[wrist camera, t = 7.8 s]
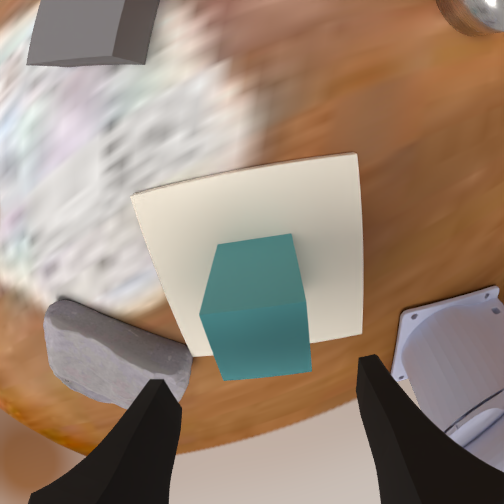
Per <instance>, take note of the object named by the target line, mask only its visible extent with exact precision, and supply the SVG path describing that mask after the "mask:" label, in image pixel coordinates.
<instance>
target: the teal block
mask: <svg viewBox="0 0 504 504" xmlns="http://www.w3.org/2000/svg"><path fill="white" fill-rule="evenodd" d="M199 317H200V319H201V322H202V325H203V328H204V330H205V333H206V336H207V339H208V341H209V344H210V347H211V349H212V352H213V355H214V357H215V360H216V362H217V365H218V368H219V370H220V373H221V375H222V378H223V380H224V381H227V380H241V379H252V378H263V377H272V376H281V375H289V374H297V373H304V372H311V371H312V365H311V351H310V338H309V326H308V314H307V303H306V298H305V293H304V288H303V283H302V279H301V274H300V269H299V265H298V260H297V256H296V251H295V247H294V243H293V238H292V234H291V233H290V234H283V235H276V236H270V237H263V238H256V239H250V240H243V241H237V242H230V243H224V244H218V245H217V248H216V252H215V256H214V259H213V263H212V267H211V271H210V274H209V278H208V282H207V286H206V289H205V293H204V297H203V301H202V305H201V309H200V313H199Z"/></svg>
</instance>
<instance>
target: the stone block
mask: <svg viewBox="0 0 504 504" xmlns="http://www.w3.org/2000/svg"><path fill="white" fill-rule="evenodd" d="M43 326H44V331H45V340H46V346H47V353H48V360H49V365H50V367H51V369H52V370H53V372H54V374H55V376H56V377H58V378H59V379H60V380H61V381H62V383H64V384H65V385H66V386H68V387H69V388H70V389H72V390H74V391H77V392H80V393H82V394H84V395H86V396H87V397H89V398H91V399H94V400H96V401H99V402H104V403H114V404H116V405H118V406H120V407H122V408H125V409H127V410H128V408H129V407H130V405H131V404H132V403H133V401H134V400H135V399H136V397H137V396H138V395H139V393H140V392H141V390H142V389H143V388H144V386H145V385H146V384H147V382H148V381H149V380H150V379H164V380H165V382H166V384H167V385H168V387H169V389H170V390H171V392H172V393H173V395H174V397H175V398H176V400H177V401H178V402H179V401H180V399H181V398H182V396H183V394H184V392H185V390H186V388H187V386H188V384H189V378H190V374H191V365H192V360H193V357H192V355H191V353H190V350H189V348H188V347H187V346H186V345H183V344H181V343H179V342H175V341H172V340H170V339H167V338H164V337H161V336H158V335H155V334H153V333H150V332H147V331H144V330H142V329H139V328H136V327H134V326H131V325H129V324H126V323H124V322H121V321H118V320H116V319H114V318H111V317H108V316H105V315H103V314H101V313H98V312H97V311H95V310H92V309H90V308H88V307H86V306H83V305H81V304H79V303H76V302H73V301H69V300H61V301H58V302H55V303H53V304H52V305H50V306H49V307H48V309H47V312H46V314H45V317H44V324H43Z"/></svg>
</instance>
